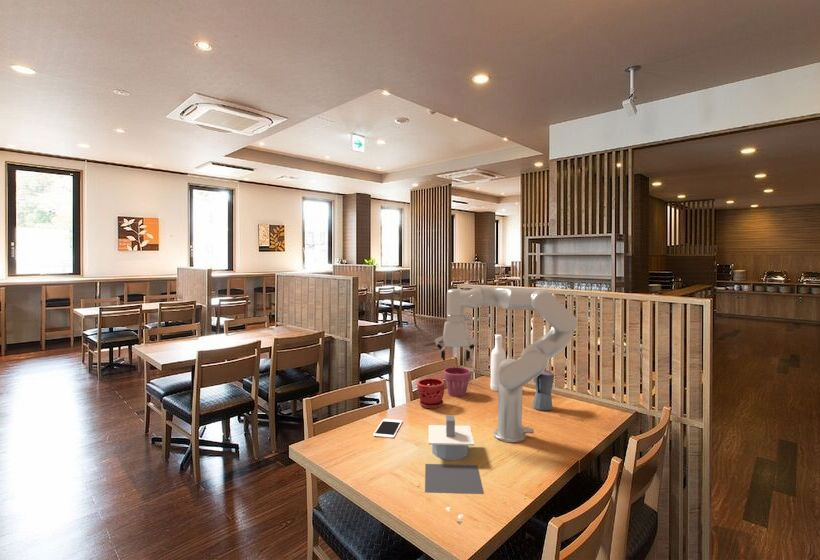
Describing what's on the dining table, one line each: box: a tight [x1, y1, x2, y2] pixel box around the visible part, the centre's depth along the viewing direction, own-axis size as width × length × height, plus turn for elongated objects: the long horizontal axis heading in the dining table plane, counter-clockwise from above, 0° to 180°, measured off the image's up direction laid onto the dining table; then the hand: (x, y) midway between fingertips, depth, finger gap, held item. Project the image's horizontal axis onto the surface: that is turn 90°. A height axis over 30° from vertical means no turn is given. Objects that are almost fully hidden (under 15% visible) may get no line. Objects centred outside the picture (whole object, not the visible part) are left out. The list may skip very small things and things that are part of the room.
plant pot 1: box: [416, 377, 445, 410], centre depth 211 cm, size 13×13×12 cm
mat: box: [424, 463, 484, 495], centre depth 141 cm, size 18×18×1 cm
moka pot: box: [532, 368, 555, 412], centre depth 207 cm, size 10×15×20 cm, turn 148°
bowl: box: [432, 445, 469, 461], centre depth 160 cm, size 13×13×7 cm
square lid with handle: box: [428, 415, 475, 447], centre depth 160 cm, size 16×16×7 cm
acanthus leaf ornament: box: [445, 506, 464, 526], centre depth 123 cm, size 8×7×2 cm
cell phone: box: [372, 418, 404, 439], centre depth 183 cm, size 9×18×1 cm, turn 169°
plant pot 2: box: [443, 366, 472, 398], centre depth 228 cm, size 14×14×13 cm
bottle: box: [489, 334, 507, 392], centre depth 237 cm, size 8×8×30 cm
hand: (455, 360), depth 179 cm, fingers open, 9 cm apart
